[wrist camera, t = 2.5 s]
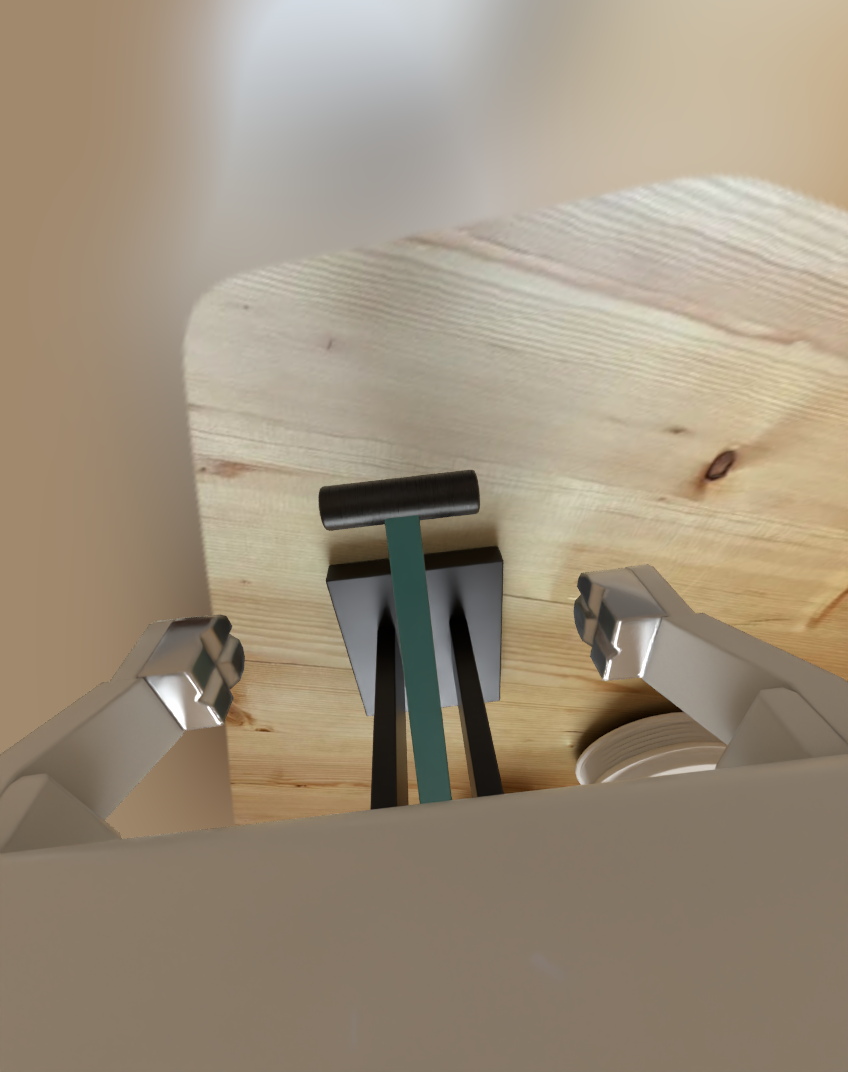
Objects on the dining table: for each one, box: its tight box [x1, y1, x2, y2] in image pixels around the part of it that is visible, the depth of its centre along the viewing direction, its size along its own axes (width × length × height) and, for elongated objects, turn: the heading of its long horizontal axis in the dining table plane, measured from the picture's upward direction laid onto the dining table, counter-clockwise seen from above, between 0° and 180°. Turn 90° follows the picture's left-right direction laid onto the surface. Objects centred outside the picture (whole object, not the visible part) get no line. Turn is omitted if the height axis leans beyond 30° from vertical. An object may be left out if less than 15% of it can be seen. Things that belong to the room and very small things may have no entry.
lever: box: [319, 470, 480, 804], centre depth 14 cm, size 16×5×2 cm, turn 5°
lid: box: [575, 712, 727, 785], centre depth 32 cm, size 13×13×5 cm
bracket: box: [326, 546, 504, 810], centre depth 19 cm, size 12×9×14 cm
